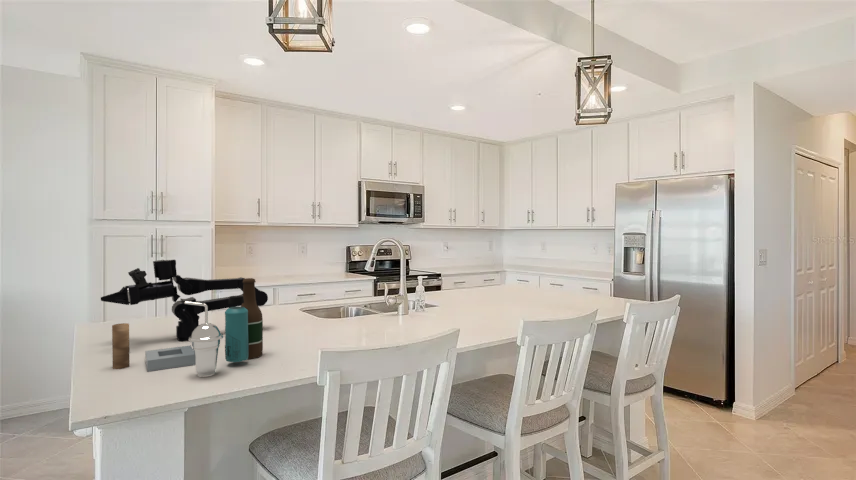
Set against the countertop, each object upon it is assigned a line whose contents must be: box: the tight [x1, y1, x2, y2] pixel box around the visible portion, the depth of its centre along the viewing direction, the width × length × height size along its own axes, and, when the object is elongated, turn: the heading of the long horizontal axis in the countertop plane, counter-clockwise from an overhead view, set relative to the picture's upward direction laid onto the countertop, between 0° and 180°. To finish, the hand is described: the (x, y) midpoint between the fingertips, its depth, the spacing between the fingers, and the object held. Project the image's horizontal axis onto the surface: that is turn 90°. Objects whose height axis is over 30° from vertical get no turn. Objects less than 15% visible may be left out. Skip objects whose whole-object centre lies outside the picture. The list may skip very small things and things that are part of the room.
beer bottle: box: [240, 277, 264, 360], centre depth 142 cm, size 8×8×24 cm
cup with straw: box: [185, 301, 224, 378], centre depth 125 cm, size 8×9×20 cm
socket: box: [144, 344, 196, 373], centre depth 135 cm, size 12×12×3 cm
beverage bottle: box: [224, 295, 249, 363], centre depth 134 cm, size 6×7×20 cm
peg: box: [111, 322, 131, 370], centre depth 131 cm, size 4×4×12 cm
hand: (100, 299), depth 149 cm, fingers open, 9 cm apart
